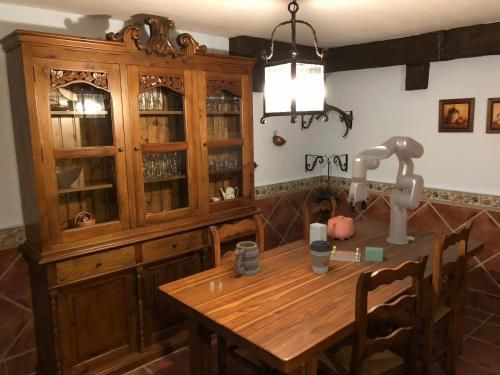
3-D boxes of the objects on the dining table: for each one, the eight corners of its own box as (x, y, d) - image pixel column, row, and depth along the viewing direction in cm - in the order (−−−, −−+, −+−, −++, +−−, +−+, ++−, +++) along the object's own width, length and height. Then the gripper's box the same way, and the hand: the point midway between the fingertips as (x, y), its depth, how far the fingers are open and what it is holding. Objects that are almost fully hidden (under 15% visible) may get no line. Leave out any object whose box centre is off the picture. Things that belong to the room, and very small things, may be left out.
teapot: (341, 231, 279) (342, 211, 276) (358, 235, 270) (359, 214, 267) (322, 239, 263) (322, 217, 261) (339, 243, 255) (340, 221, 252)
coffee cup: (323, 277, 205) (324, 248, 202) (304, 272, 212) (304, 243, 209) (336, 270, 213) (336, 242, 210) (317, 265, 220) (317, 238, 218)
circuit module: (382, 258, 229) (382, 248, 228) (382, 261, 224) (382, 251, 223) (365, 257, 232) (365, 246, 231) (365, 260, 227) (365, 249, 226)
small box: (326, 246, 251) (327, 225, 248) (319, 248, 247) (319, 227, 244) (316, 242, 257) (316, 222, 255) (309, 245, 253) (309, 224, 251)
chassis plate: (360, 254, 236) (360, 247, 235) (360, 262, 224) (360, 254, 224) (331, 252, 240) (331, 245, 239) (329, 259, 229) (329, 252, 228)
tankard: (241, 264, 224) (241, 237, 221) (263, 268, 218) (263, 240, 216) (223, 278, 206) (222, 249, 203) (246, 282, 201) (245, 252, 198)
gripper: (363, 177, 232) (362, 207, 236) (342, 181, 222) (342, 212, 225) (374, 179, 227) (373, 210, 230) (354, 183, 216) (353, 215, 219)
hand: (358, 211), depth 228 cm, fingers open, 9 cm apart
